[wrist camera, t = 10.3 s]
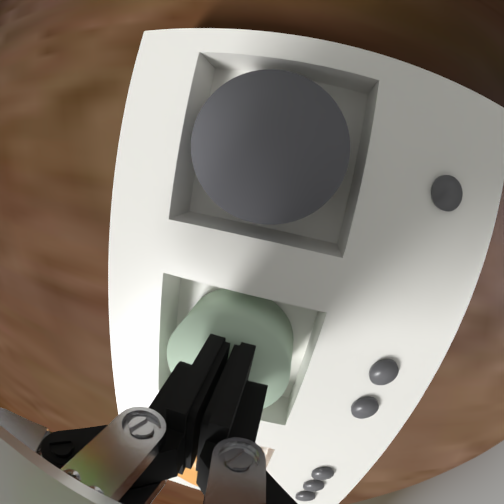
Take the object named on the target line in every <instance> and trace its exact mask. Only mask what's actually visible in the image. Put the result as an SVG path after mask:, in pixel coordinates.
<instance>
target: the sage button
mask: <svg viewBox="0 0 504 504" xmlns="http://www.w3.org/2000/svg"><path fill="white" fill-rule="evenodd" d="M210 334H214V335H218V336H221V337H225V338H226V341H225V342H228V343H230V349H229V354H228V358H229V356H230V353H231V351H232V349H233V346H234V344H236V345H240V344H241V342H244V343H248V344H252V345H256V349H255V354H254V358H253V362H252V366H251V370H250V374H249V378H248V380H249V381H253V382H257V383H261V384H265V385H268V388H267V393H266V397H265V402H264V406H263V409H264V408H266V407H268V406H270V405H272V404H273V403H274V402H276V401H277V400H278V399H279V398H280V397H281V396H282V395H283V393H284V392H285V390H286V388H287V386H288V383H289V379H290V371H291V361H292V352H293V340H294V337H293V330H292V326H291V324H290V321H289V319H288V317H287V316H286V314H285V313H284V311H283V310H282V309H281V308H280V307H279V306H278V305H277V304H276V303H275V302H274V301H272V300H269V299H264V298H260V297H256V296H252V295H248V294H244V293H240V292H236V291H232V290H228V289H224V288H223V289H218V290H216V291H213V292H211V293H209V294H207V295H205V296H204V297H202V298H201V299H200V300H199V301H198V302H197V303H196V304H195V306H194V307H193V308H192V309H191V311H190V312H189V313H188V314H187V316H186V317H185V318H184V319H183V321H182V322H181V323H180V324H179V326H178V327H177V328H176V329H175V331H174V332H173V333H172V335H171V337H170V339H169V342H168V345H167V361H168V365H169V368H170V371H171V373H172V371H173V370H174V368H175V367H176V365H177V364H178V363H179V362H180V361H182V362H186V363H189V364H193V362H194V360H195V359H196V357H197V355H198V354H199V352H200V350H201V349H202V347H203V345H204V343H205V342H206V340H207V338H208V337H209V335H210ZM227 360H228V359H227Z"/></svg>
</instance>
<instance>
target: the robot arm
mask: <svg viewBox="0 0 504 504" xmlns="http://www.w3.org/2000/svg"><path fill="white" fill-rule="evenodd" d="M225 341H226V338H225V337H221V336H218V335H214V334H210V335H209V337H208V338H207V340H206V342H205V343H204V345H203V347H202V349H201V350H200V352H199V354H198V355H197V357H196V359H195V360H194V362H193V364H189V363H186V362H182V361H180V362H179V363H178V364H177V365H176V367H175V368H174V370H173V371H172V373H171V374H170V376H169V377H168V379H167V380H166V382H165V383H164V385H163V386H162V388H161V389H160V391H159V392H158V394H157V395H156V397H155V398H154V400H153V401H152V403H151V404H150V406H149V407H148V408H147V407H141V406H139V407H131V408H128V409H126V410H124V411H123V412H121V413H120V414H119V415H118V416H117V417H116V418H115V419H114V420H113V421H112V422H111V423H110V424H109V425H104V426H97V427H90V428H82V429H74V430H64V431H57V432H50V431H49V430H48V428H46V427H44V426H41V425H39V424H37V423H34V422H32V421H30V420H27V419H25V418H23V417H21V416H19V415H17V414H15V413H12V412H10V411H8V410H6V409H3V408H0V504H151V502H152V501H153V500H154V498H155V497H156V496H157V495H158V493H159V492H160V491H161V489H162V488H163V486H164V485H165V484H166V481H167V479H170V478H174V477H177V475H178V473H179V474H182V475H183V472H184V470H185V468H188V469H191V468H192V466H193V464H194V461H195V459H196V457H197V461H196V471H198V472H197V480H196V484H197V485H198V487H199V488H200V490H201V491H202V492H203V494H204V501H203V504H298V503H297V502H296V501H295V500H294V499H293V498H292V497H291V496H290V495H289V494H288V493H287V492H286V491H285V490H284V489H283V488H282V487H281V486H280V485H279V484H278V483H277V482H276V480H275V479H274V478H273V477H272V476H271V475H270V474H269V473H268V472H267V471H266V458H265V453H264V452H263V450H262V448H261V447H260V446H258V445H257V444H256V443H255V441H256V437H257V433H258V428H259V424H260V420H261V415H262V411H263V406H264V402H265V397H266V393H267V388H268V385H265V384H261V383H257V382H253V381H249V380H248V378H249V374H250V370H251V366H252V362H253V358H254V354H255V349H256V345H252V344H248V343H244V342H241V344H240V345H236V344H234V346H233V349H232V351H231V353H230V356H229V358H228V354H229V349H230V343H228V342H225ZM227 359H228V360H227Z"/></svg>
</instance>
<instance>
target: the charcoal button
mask: <svg viewBox="0 0 504 504" xmlns="http://www.w3.org/2000/svg"><path fill="white" fill-rule="evenodd" d="M191 157H192V163H193V167H194V170H195V173H196V176H197V178H198V180H199V182H200V184H201V186H202V187H203V189H204V191H205V192H206V193H207V194H208V196H209V197H210V198H211V199H212V200H213V201H214V202H215V203H216V204H217V205H218V206H219V207H221V208H222V209H223V210H225V211H226V212H228V213H230V214H231V215H233V216H235V217H237V218H240V219H242V220H245V221H248V222H252V223H257V224H264V225H276V224H285V223H289V222H293V221H297V220H299V219H302V218H304V217H306V216H308V215H310V214H312V213H314V212H315V211H317V210H318V209H319V208H321V207H322V206H323V205H324V204H325V203H326V202H327V201H329V200H330V199H331V197H332V196H333V195H334V194H335V192H336V191H337V189H338V188H339V186H340V184H341V183H342V181H343V179H344V176H345V174H346V171H347V168H348V164H349V158H350V136H349V130H348V127H347V123H346V120H345V118H344V116H343V113H342V111H341V110H340V108H339V106H338V105H337V103H336V102H335V101H334V99H333V98H332V97H331V96H330V95H329V94H328V93H327V92H326V91H325V90H324V89H323V88H322V87H321V86H319V85H318V84H316V83H315V82H313V81H312V80H310V79H308V78H306V77H304V76H302V75H299V74H296V73H293V72H289V71H285V70H276V69H264V70H257V71H251V72H248V73H245V74H241V75H239V76H237V77H235V78H233V79H231V80H229V81H228V82H226V83H224V84H223V85H222V86H220V87H219V88H218V89H217V90H216V91H215V92H214V93H213V94H212V95H211V96H210V97H209V98H208V99H207V101H206V102H205V103H204V105H203V106H202V108H201V110H200V112H199V113H198V116H197V118H196V121H195V123H194V127H193V131H192V137H191Z"/></svg>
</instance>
